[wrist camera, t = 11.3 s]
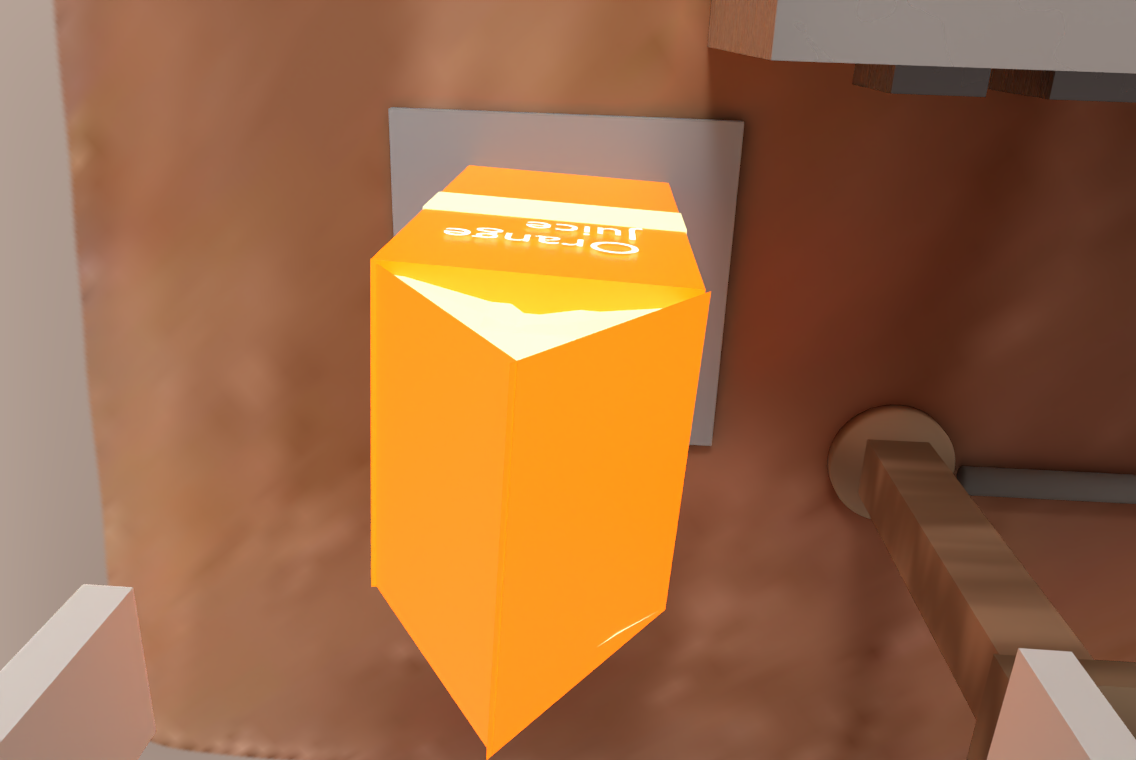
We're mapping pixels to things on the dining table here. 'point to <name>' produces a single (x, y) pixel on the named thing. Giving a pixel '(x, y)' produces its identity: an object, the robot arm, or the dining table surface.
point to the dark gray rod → (1048, 484)
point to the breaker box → (947, 43)
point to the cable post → (957, 563)
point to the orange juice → (530, 428)
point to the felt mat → (601, 149)
